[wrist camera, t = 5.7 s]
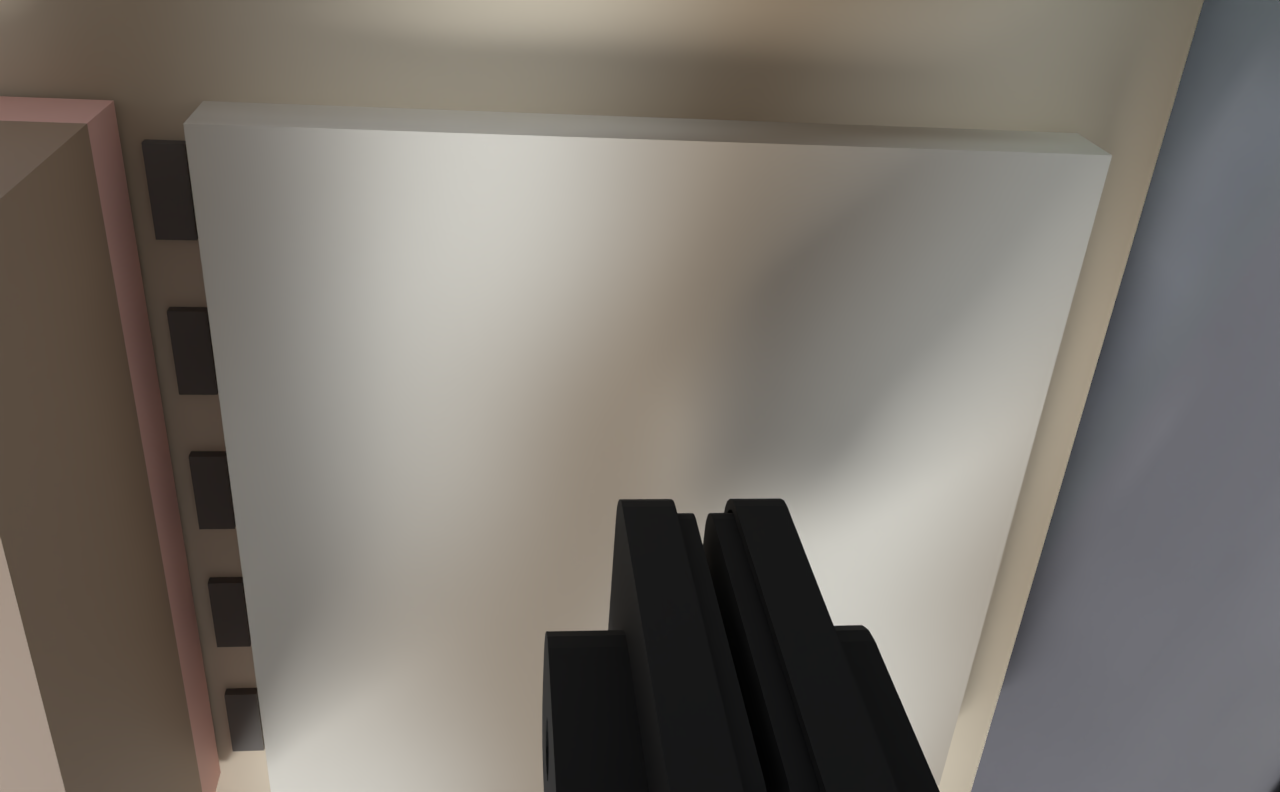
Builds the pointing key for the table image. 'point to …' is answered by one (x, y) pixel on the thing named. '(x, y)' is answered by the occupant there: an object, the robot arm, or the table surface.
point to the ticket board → (604, 327)
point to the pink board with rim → (87, 482)
